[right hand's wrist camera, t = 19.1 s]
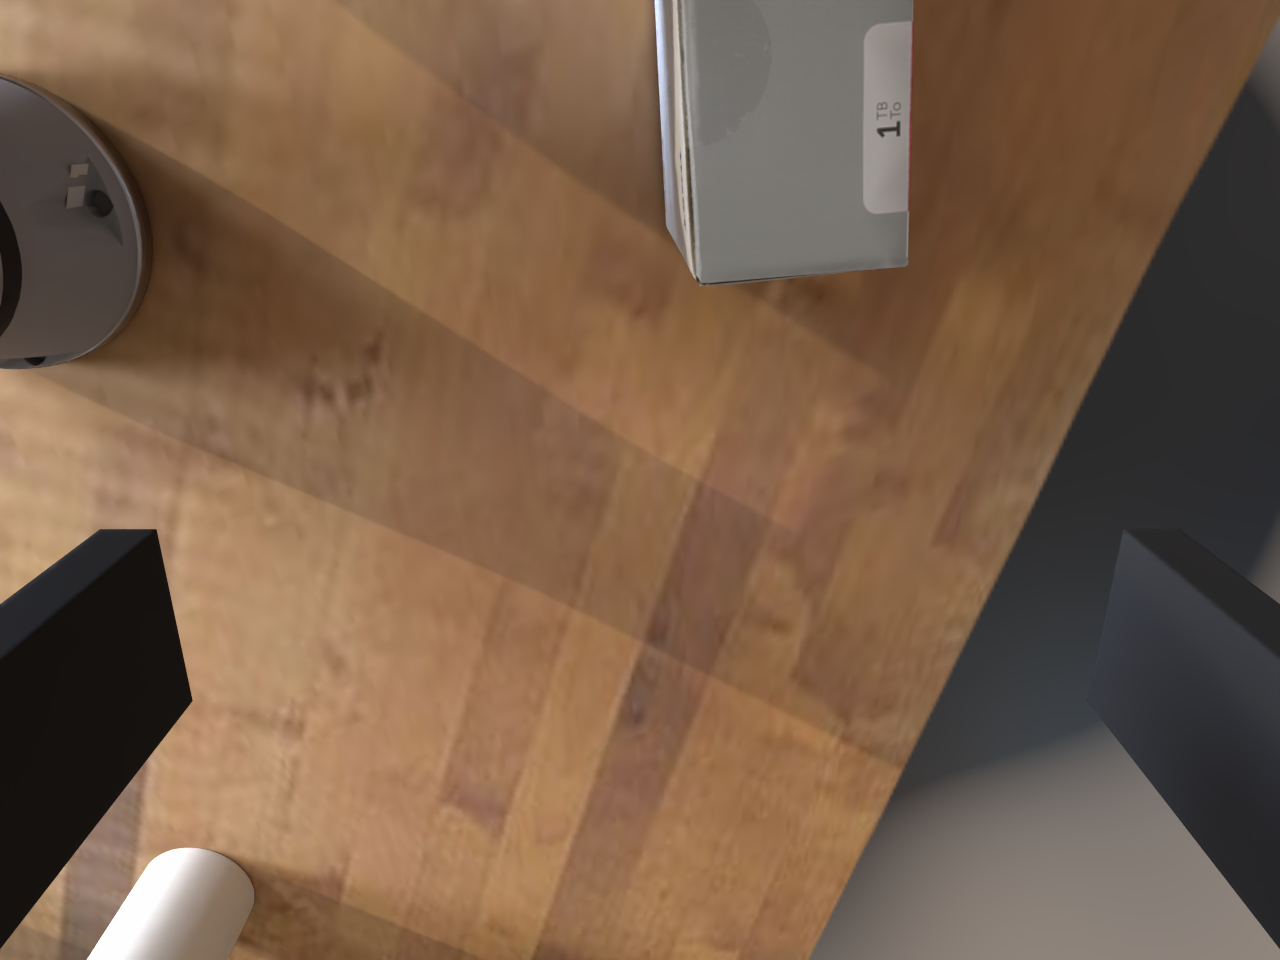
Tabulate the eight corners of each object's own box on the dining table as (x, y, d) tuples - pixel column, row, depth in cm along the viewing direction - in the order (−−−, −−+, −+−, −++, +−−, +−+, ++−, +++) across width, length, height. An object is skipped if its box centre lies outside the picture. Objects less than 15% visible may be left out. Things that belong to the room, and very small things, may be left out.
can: (121, 863, 66) (22, 1008, 55) (222, 835, 65) (142, 976, 55) (176, 942, 69) (92, 1094, 58) (273, 916, 68) (207, 1065, 57)
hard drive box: (805, 219, 50) (909, 279, 31) (665, 231, 50) (686, 297, 31) (802, -112, 44) (927, -280, 26) (644, -99, 44) (654, -256, 26)
